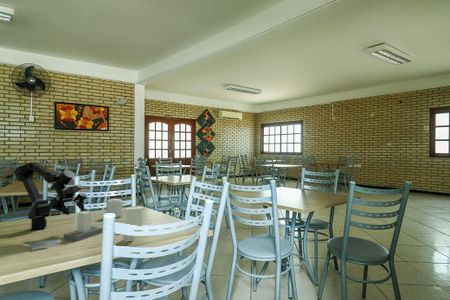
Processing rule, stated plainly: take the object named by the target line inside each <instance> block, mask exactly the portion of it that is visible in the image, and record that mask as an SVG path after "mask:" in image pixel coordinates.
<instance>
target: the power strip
mask: <svg viewBox="0 0 450 300" xmlns="http://www.w3.org/2000/svg"><path fill="white" fill-rule="evenodd" d="M103 230H104V229H103V227H97V226H92V225H91V231H89V232H86V233H81V232H77V229H76V230H73V231H69V232H65V233H63V235H62V236H63V238H62V239H63V240H67V241H72V242H79V241H82V240H84V239H88V238H91V237H94V236H97V235H100V234H102V233H103Z"/></svg>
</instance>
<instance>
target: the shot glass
mask: <svg viewBox="0 0 450 300" xmlns="http://www.w3.org/2000/svg"><path fill="white" fill-rule="evenodd" d="M122 237H123V238H122V240H124V241H132V242H134V241H133V240H135V241H136V237H135V236H126V235H123V234H122ZM124 241H123V242H124Z"/></svg>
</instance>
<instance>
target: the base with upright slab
mask: <svg viewBox="0 0 450 300" xmlns="http://www.w3.org/2000/svg"><path fill="white" fill-rule="evenodd" d="M143 209H144V208H143V207H142V206H139V207H137V206H136V207H128V208H127V207H126V209H125V211H126V212H125V214H126V215H125V225H126V224H130V225H138V226H142V227H143V217H144V216H143Z"/></svg>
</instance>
